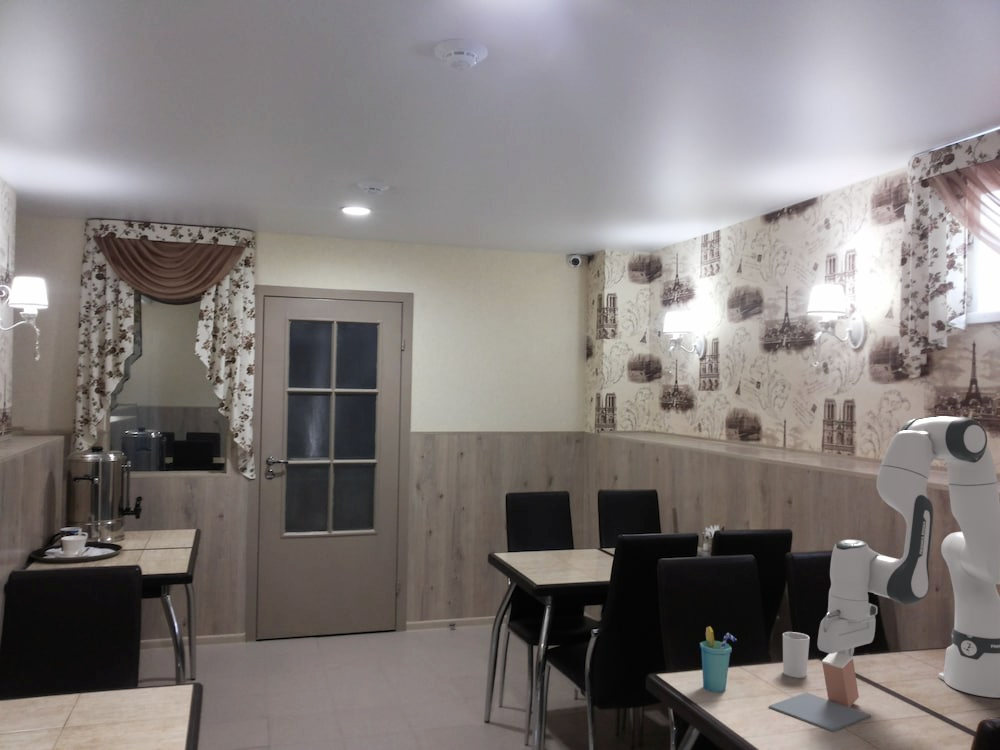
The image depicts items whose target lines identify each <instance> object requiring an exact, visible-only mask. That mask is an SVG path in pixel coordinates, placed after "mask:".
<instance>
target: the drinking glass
mask: <svg viewBox="0 0 1000 750" xmlns="http://www.w3.org/2000/svg"><path fill="white" fill-rule="evenodd" d="M809 648H810V636H809V635H808V634H805V633H801V632H796V631H795V632H793V631H786V632H783V633H782V667H783V668H782V673H783V674H784V675H786V676H788V677H793V678H797V679H798V678H799V679H801V678H802V679H803V678H805V677H807V674H808V672H807V671H808V661H809V650H810V649H809Z"/></svg>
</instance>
